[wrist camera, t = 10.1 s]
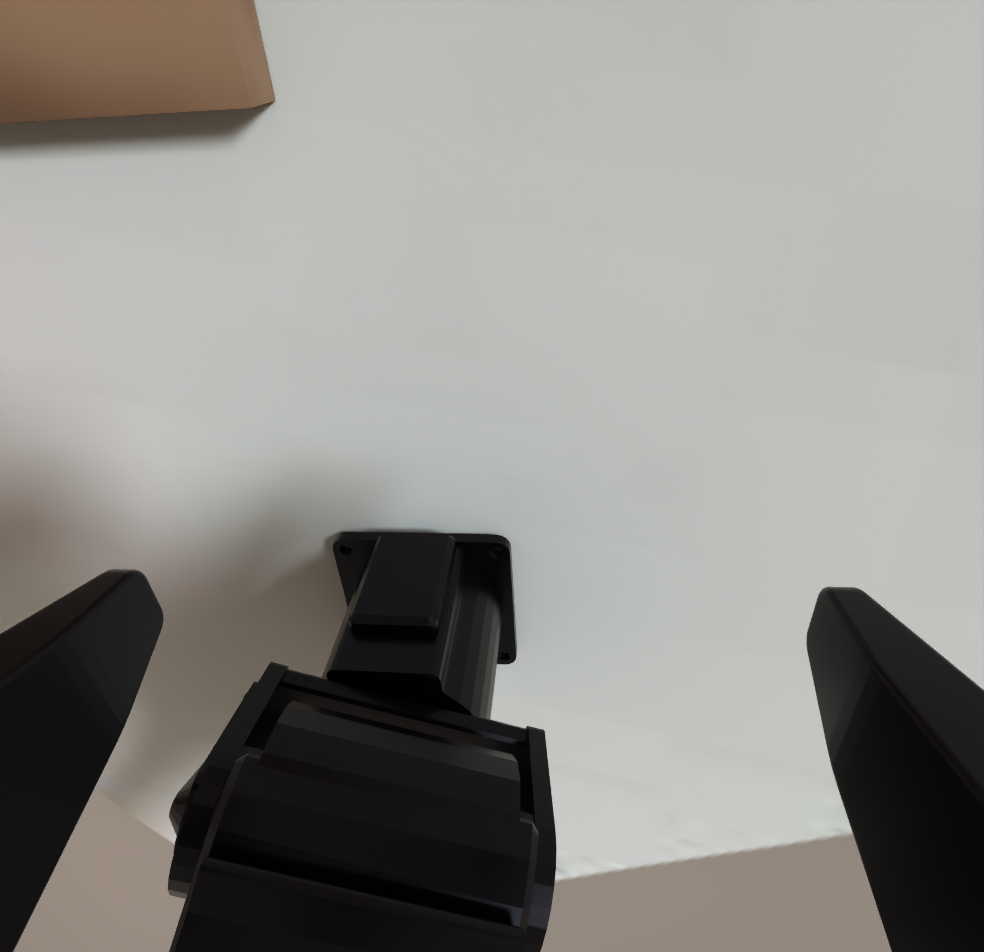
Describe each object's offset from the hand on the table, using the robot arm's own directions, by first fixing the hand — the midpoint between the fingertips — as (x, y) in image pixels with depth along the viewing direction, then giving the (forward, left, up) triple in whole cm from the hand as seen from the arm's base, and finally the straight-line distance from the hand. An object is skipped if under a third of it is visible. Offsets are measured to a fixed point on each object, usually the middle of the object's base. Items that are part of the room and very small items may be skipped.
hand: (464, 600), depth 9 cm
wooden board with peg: (+11, +15, -12) cm, 22 cm away
